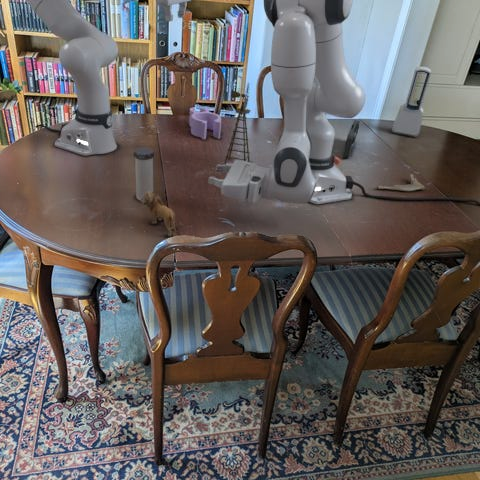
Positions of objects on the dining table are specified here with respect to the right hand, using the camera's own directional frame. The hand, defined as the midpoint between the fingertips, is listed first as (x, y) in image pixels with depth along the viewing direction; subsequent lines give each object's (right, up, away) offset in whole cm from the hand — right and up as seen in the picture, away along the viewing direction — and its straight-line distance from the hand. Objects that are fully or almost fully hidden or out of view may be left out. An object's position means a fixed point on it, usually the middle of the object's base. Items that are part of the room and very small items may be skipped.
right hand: (212, 173), depth 137 cm
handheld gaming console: (+54, +18, +60) cm, 83 cm away
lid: (-21, +7, +1) cm, 22 cm away
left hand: (-12, +49, +7) cm, 51 cm away
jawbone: (+66, +1, +35) cm, 74 cm away
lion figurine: (-15, -16, -4) cm, 22 cm away
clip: (-8, +27, +64) cm, 70 cm away
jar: (-22, -6, +9) cm, 25 cm away
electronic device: (+86, +31, +85) cm, 125 cm away
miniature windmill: (+7, +9, +37) cm, 39 cm away
